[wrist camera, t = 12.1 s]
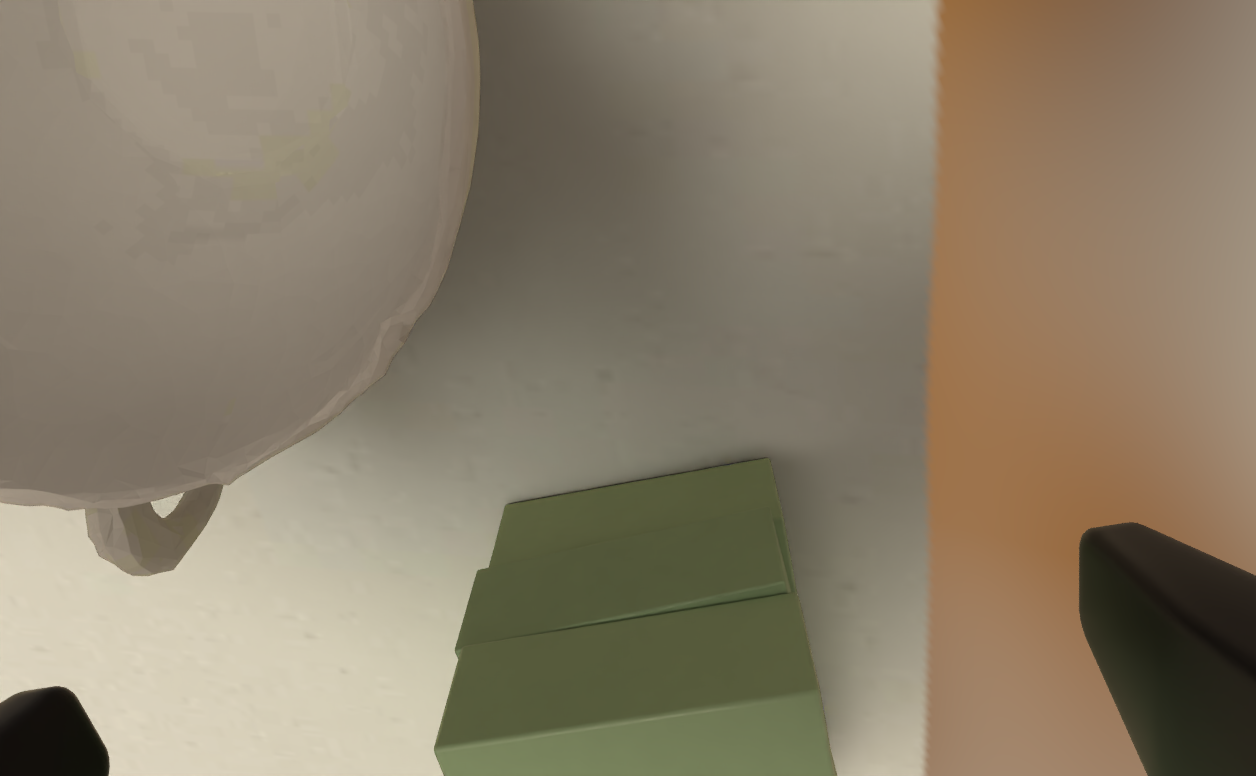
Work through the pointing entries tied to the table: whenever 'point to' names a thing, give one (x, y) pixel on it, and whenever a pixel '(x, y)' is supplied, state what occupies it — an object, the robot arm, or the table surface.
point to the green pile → (632, 553)
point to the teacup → (212, 237)
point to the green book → (643, 698)
